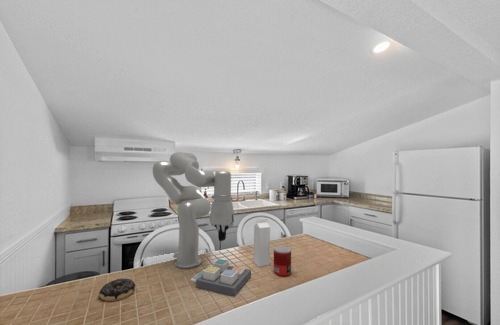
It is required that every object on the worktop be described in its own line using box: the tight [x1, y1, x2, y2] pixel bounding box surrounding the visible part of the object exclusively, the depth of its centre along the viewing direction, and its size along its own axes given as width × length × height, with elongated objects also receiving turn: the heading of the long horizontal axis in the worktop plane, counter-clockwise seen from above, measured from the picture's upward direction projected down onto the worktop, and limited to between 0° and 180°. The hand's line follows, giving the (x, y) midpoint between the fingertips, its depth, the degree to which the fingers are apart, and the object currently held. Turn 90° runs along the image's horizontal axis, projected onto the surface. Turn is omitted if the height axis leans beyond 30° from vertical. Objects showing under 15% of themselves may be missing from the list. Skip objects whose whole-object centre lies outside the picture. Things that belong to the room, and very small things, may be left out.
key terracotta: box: [232, 266, 246, 277], centre depth 98 cm, size 5×5×4 cm
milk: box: [253, 219, 271, 268], centre depth 114 cm, size 6×6×22 cm
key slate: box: [221, 269, 238, 285], centre depth 90 cm, size 5×5×4 cm
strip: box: [189, 268, 206, 283], centre depth 100 cm, size 4×11×1 cm, turn 158°
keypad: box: [195, 265, 252, 298], centre depth 95 cm, size 17×17×3 cm
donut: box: [98, 278, 136, 302], centre depth 86 cm, size 11×12×4 cm
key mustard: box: [202, 265, 220, 281], centre depth 93 cm, size 5×5×4 cm
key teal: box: [212, 258, 230, 273], centre depth 101 cm, size 5×5×4 cm
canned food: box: [273, 245, 292, 277], centre depth 104 cm, size 8×8×11 cm
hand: (222, 240), depth 101 cm, fingers closed
